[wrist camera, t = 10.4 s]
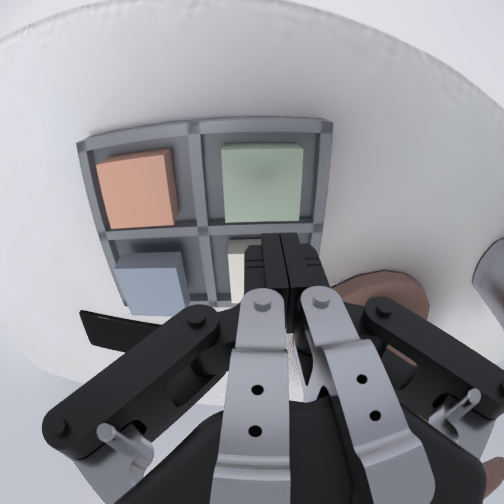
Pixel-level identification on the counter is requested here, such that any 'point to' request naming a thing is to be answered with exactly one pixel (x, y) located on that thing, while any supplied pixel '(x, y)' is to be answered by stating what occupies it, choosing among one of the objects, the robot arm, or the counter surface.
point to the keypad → (207, 193)
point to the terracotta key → (139, 189)
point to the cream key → (238, 266)
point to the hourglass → (416, 301)
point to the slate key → (153, 283)
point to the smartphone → (115, 331)
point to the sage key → (262, 181)
